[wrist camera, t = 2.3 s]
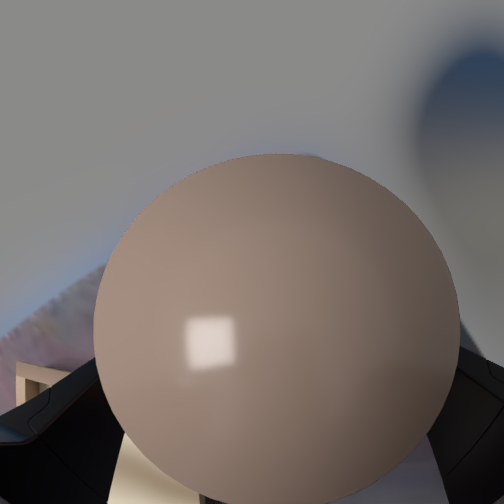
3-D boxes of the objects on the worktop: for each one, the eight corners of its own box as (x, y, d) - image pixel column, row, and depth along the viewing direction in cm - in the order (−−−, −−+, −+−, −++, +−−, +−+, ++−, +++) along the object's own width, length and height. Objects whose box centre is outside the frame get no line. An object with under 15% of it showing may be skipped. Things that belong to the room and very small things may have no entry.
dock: (210, 547, 10) (202, 569, 8) (57, 507, 10) (35, 516, 8) (198, 384, 15) (184, 385, 13) (43, 366, 16) (16, 360, 13)
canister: (318, 408, 14) (485, 469, 2) (219, 414, 15) (79, 505, 2) (311, 316, 17) (419, 143, 4) (217, 321, 17) (107, 155, 4)
